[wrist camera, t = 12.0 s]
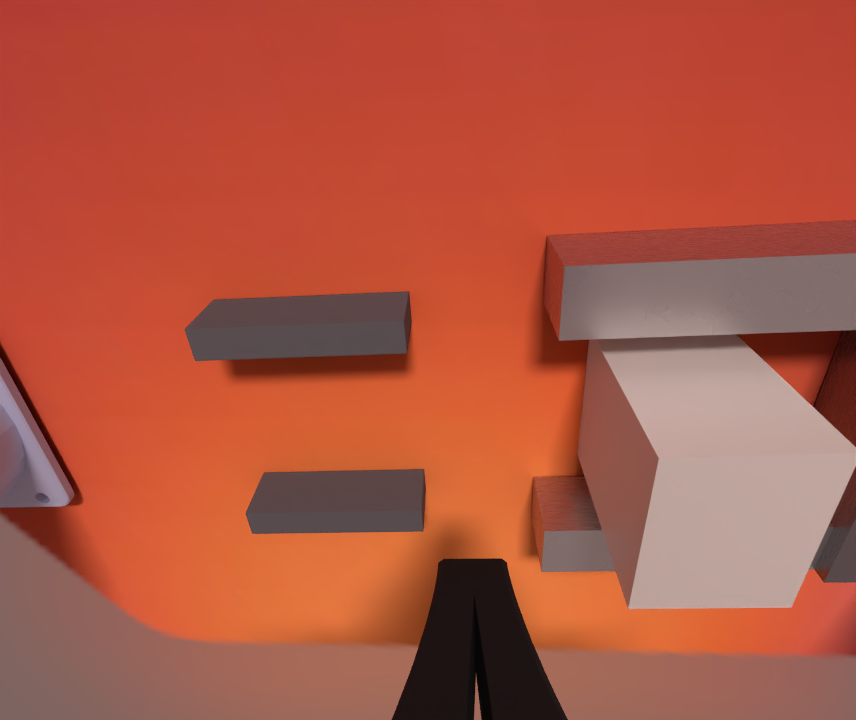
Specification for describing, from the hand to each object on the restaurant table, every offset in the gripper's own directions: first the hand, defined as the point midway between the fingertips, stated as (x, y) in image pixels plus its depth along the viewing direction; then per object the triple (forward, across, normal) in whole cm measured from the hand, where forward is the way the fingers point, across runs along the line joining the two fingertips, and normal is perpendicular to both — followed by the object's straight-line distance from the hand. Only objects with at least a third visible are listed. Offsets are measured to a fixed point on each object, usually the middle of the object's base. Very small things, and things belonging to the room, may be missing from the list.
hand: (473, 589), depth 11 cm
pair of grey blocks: (+7, +5, 0) cm, 8 cm away
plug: (+7, -6, 0) cm, 9 cm away
